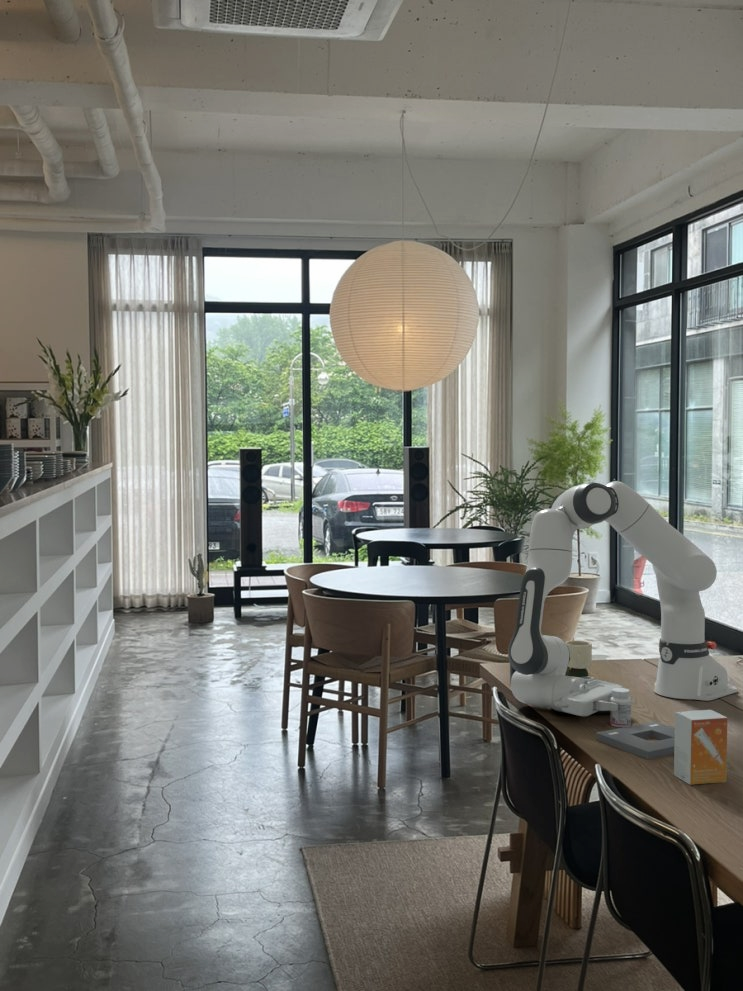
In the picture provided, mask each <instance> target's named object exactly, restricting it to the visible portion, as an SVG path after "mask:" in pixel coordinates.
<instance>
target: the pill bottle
mask: <svg viewBox="0 0 743 991" xmlns="http://www.w3.org/2000/svg"><path fill="white" fill-rule="evenodd" d="M630 695H631V693H630V690H629V689H628V688H625V687H624V688H614V689H612V696H613V697H611V702H617V703H619V704H620V706H619V707H620V708H619V710H617V711H610V710H609V712H610V720H609V721H610V725H611V726H612V727H616V728H623V727H629V726H632V725H631V724H632V698H631V697H630ZM629 697H630V698H631V699H630V698H629Z"/></svg>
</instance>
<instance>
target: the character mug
mask: <svg viewBox="0 0 743 991" xmlns="http://www.w3.org/2000/svg"><path fill="white" fill-rule="evenodd" d="M565 643H566V644H567V646H568V648H569V652H570V659H569V664H568V667H570V669H569V671H568V675H567V676H571V677H572V676H573V677H587V676H589V671H588V669H589V668H591V667H592V664H593V662H592V660H593V659H592V658H593V654H592V653H593V644H592V642H589V641H586V640H568V641H565Z"/></svg>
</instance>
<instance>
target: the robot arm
mask: <svg viewBox="0 0 743 991" xmlns="http://www.w3.org/2000/svg"><path fill="white" fill-rule="evenodd" d="M604 521H605V522H606V523H608V524H609V525H610V526H611V527H612V529H614V530H615V532H617V533H618V534H619V535H620V536H621V538H623V539H624V540H625V541H626V542H627V544H629V546H630V547H632V548H633V549H634V550H635V551H636V552H637V553H638V554H639V555H641V556H642V557H644V558H645V560H647V562H649V563H650V564H652V569H653V572H654V574H655V578H656V586H657V592H658V597H659V604H660V614H661V616H660V638H659V642H658V651H659V652H658V653H659V655H660V657H659V658H658V663H657V664H658V666H657V671H656V672H657V673H656V681H655V682H654V685H653V686H654V689H653V692H654V693H656V694H658V695H660V696H663V697H667V698H672V699H678V700H698V701H713V700H716V699H719V698H723V697H726V696H729V695H732V694H735V693H738V688H737V686H734V685H732V684H729V677H728V671H727V669H726V667H724V666H723V664H721V663H720V662H718V660H716V659H715V658H713V656H711V655H710V654H711V653H710V650H712V651H714V650H717V649H716V648H717V645H718V644H717V643H716V642H715V641H709V640H708V641H707V642H706V640H705V631H706V630H705V628H706V627H705V626H706V622H705V621H706V619H705V618H706V613H705V609H704V607H703V604H702V600H701V595H700V592H702V591H705V590H707V589H709V588H711V587H712V586H713V584H714V583H715V581H716V580H717V574H718V570H717V566H716V564H715V562H714V561H713V560H712V559H711V558H710V557H709V556H708V555H707V554H706V553H705V552H703V550H701V549H700V548H699V547H698V546H697V545H696V544H695V543H693V542H692V541H691V540H690V539H688V537H686V536H685V535H684V534H683V533H682V532H680V531H679V530H678V529H677V528H675V527H674V526H673V525H671V524H670V523H669V522H668V521H667V519H665V518H664V516H662V515H661V514H660V513H659V512H658V511H657V510H656V509H655V508H654V507H653V506H652V505H651V504H650V503H649V502H648V501H647V500H646V499H645V498H644V497H642V496H641V495H640V494H639V493H638V492H637V491H635V489H633V488H632V487H630V486H629V485H627V484H626V483H624V482H622V481H619V480H615V481H611V482H608V483H606V484H602V483H600V482H594V481H593V482H591V481H590V482H585V483H583V484H578V485H575V486H572V487H570V488H568V489H567V490H565V491H562V492H560V493H559V494H558V495H556V496H555V497H554V498H553V500H552V501H551V503H550V506H548V508H545V509H542V510H540V511H538V512H536V513H535V515H534V517H533V519H532V523H531V528H530V532H529V539H528V540H529V541H528V553H527V555H528V558H527V564H526V569H525V573H524V575H523V577H522V580H521V585H520V590H519V597H518V598H519V599H518V604H517V611H516V618H515V620H516V621H515V627H514V630H513V631H514V632H513V634H512V637H511V639H510V641H509V644H508V648H507V658H508V660H509V664H510V663H511V665H512V667H513V668H514V669H515V670H516V672H514V674H513V675H512V678H511V683H510V688H511V692H512V695H513V696H514V698H515V699H517V700H518V702H520V703H523V704H526V705H528V706H531V707H532V706H533V707H536V708H540V709H549V708H550V709H552V710H554V711H556V712H561V713H566V714H570V715H575V716H579V717H588V716H590V715H592V714H595V713H598V712H601V711H602V712H603V711H604V712H605V711H609V712H610V711H617V710H619V708H620V707H619V706H620V704H619V703H617V702H611V697H613V696H612V689H614V688H625V687H624V686H622V685H620V684H618V683H614V682H610V681H605V680H600V679H596V680H595V677H593V676H589V675H588V676H587V677H573V676H572V677H571V676H568V675H566V672H567V668H568V664H569V659H570V652H569V648H568V646H567V644H566V643H565V642H566V641H565V640H564V639H562V638H561V637H559V636H555V635H554V636H553V635H548V634H546V635H545V634H543V633H542V623H543V614H544V608H545V607H544V606H545V601H546V598H547V597H548V594H550V593H551V591H553V590H554V589H555V588H557V587H559V586H561V585H562V584H564V582H566V581H567V580H568V579H569V577H570V574H571V571H572V565H573V539H574V536H575V532H576V531H577V530H581V529H583V530H584V529H586V528H590V527H592V526H593V525H596V524H600V523H603V522H604ZM629 698H630V699H631V700H632V698H631V697H630V696H629Z"/></svg>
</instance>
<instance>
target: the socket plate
mask: <svg viewBox="0 0 743 991" xmlns="http://www.w3.org/2000/svg"><path fill="white" fill-rule="evenodd" d="M595 735H596V736H595V740H596V741H599V742H601V743H604V744H607V745H609V746H612V747H613V748H617V749H620V750H622V751H625V752H627V753H630V754H633V755H636V756H638V757H641V758H643V759H645V760H651V759H655V758H656V759H657V758H662V757H666V756H671V755H674V747H675V727H673V726H670V725H666V724H664V723H661V722H658V721H650V722H646V723H640V724H639V723H638V724H635V725H631V726H629V727H617V728H614V729H609V730H603V731H598V732H596V733H595ZM648 738H654V739H656V740H655V741H650V740H647V739H648Z"/></svg>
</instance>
